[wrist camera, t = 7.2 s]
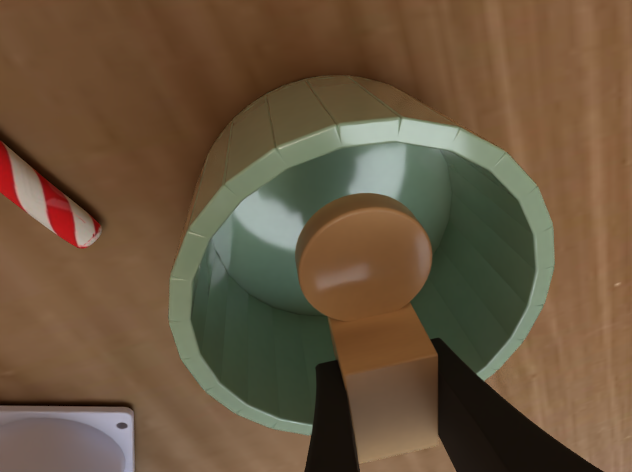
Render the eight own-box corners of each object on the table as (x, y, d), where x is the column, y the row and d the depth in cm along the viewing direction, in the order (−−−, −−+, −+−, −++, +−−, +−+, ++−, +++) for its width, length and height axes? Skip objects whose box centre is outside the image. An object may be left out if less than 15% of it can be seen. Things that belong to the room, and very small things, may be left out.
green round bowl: (413, 322, 21) (471, 435, 16) (188, 309, 19) (164, 437, 13) (498, 102, 16) (629, 156, 11) (205, 46, 14) (175, 77, 8)
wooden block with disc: (424, 368, 14) (459, 441, 12) (323, 390, 14) (338, 469, 12) (418, 179, 11) (467, 230, 8) (283, 206, 11) (293, 267, 8)
